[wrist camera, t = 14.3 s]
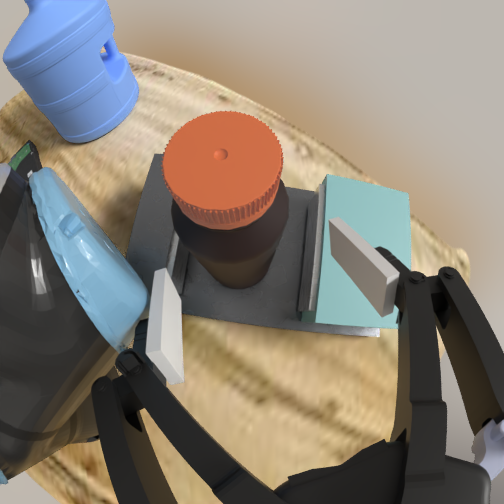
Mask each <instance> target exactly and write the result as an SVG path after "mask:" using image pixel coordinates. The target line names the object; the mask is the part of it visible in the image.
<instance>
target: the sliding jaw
mask: <svg viewBox="0 0 504 504" xmlns="http://www.w3.org/2000/svg"><path fill="white" fill-rule="evenodd" d="M336 217H340V218H341V219H342V220H343V221H344V222H345V223H347V224H348V225H349V226H350V227H351V228H352V229H353V230H354V231H356V232H357V233H358V234H359V235H360V236H361V237H362V238H363V239H364V240H366V241H367V242H368V243H369V244H370V245H371V246H372V247H373V248H376V247H379V246H381V247H383V248H385V249H388V250H389V251H390V252H391V253H392V254H393V255H394V256H395V257H396V258H397V259H399V260H400V261H401V262H402V263H403V264H404V265H405V266H406V267H407V268H408V269H409V270H410V271H411V227H410V208H409V196H408V193H405V192H401V191H398V190H394V189H390V188H386V187H382V186H378V185H374V184H370V183H366V182H362V181H357V180H353V179H348V178H344V177H339V176H334V175H329V174H327V175H326V177H325V179H324V180H323V182H322V184H319V186H318V188H317V190H316V191H315V193H314V195H313V197H312V199H311V200H310V202H309V206H308V219H307V230H306V241H305V252H304V261H303V271H302V280H301V289H300V297H299V305H298V311H300V312H302V318H301V321H303V322H313V323H323V324H333V325H345V326H357V327H371V328H390V329H398V324H396V320H397V315H398V310H399V309H398V308H397V307H396V306H395V305H394V310H393V313H391V314H389V315H387V316H384V317H381V316H380V315H379V314H378V312H377V311H376V310H375V308H374V307H373V306H372V305H371V303H370V302H369V301H368V299H367V298H366V297H365V296H364V294H363V293H362V292H361V291H360V289H359V288H358V287H357V286H356V284H355V283H354V282H353V281H352V280H351V278H350V277H349V276H348V275H347V273H346V272H345V271H344V270H343V269H342V267H341V266H340V265H339V264H338V263H337V261H336V260H335V259H334V258H333V257H332V255H331V248H330V234H329V221H328V220H329V219H333V218H336Z"/></svg>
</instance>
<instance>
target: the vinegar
mask: <svg viewBox="0 0 504 504" xmlns="http://www.w3.org/2000/svg"><path fill="white" fill-rule="evenodd" d="M166 145H167V147H166V148H165V152H163V154H164V156H163V157H162V158H163V161H161V162H162V164H163V165H161V167H162V170H161V171H162V172H163V174H162V176H163V177H164V178H163V180H164V181H165V184H166V186H167V188H168V190H169V192H170V193H171V195H172V197H173V200H172V206H171V216H172V221H173V227H174V230H175V232H176V233H177V235H178V237H179V238H180V240H181V242H182V244H183V245H184V246H185V247H186V248H187V250H188V251H189V252H190V253H191V254H192V255H193V256H194V257H195V258H196V259H197V260H198V262H199V263H200V264H201V265H202V266H203V267H204V268H205V269H206V270H207V271H208V272H209V273H210V274H211V275H212V277H213V278H214V279H216V280H217V281H218V282H219V283H220V284H222V285H223V286H226V287H229V288H231V289H245V288H249V287H252V286H254V285H255V284H257V283H258V282H260V281H261V280H262V279H263V277H264V276H265V275H266V274H267V272H268V269H269V267H270V264H271V262H272V260H273V257H274V255H275V252H276V250H277V247H278V245H279V243H280V240H281V238H282V235H283V232H284V230H285V227H286V224H287V221H288V219H289V197H288V194H287V191H286V189H285V186H284V183H283V181H282V180H281V179H280V177H281V172H282V167H283V157H282V156H283V153H282V148H281V144H279V140H277V136H275V133H272V129H271V130H270V129H269V126H266V123H262V121H259V120H258V118H257V119H256V118H254V116H253V117H252V116H250V115H246V114H245V113H244V114H242V113H241V112H239V113H238V112H236V111H235V112H231V111H230V112H226V111H225V112H222V111H220V112H217V111H216V112H214V113H212V112H211V113H210V114H207V113H206V114H205V115H201V116H199V117H197V118H196V119H193V120H192V121H189V122H188V123H186V124H185V125H184V126H183V127H181V129H179V130H178V131H177V132H176V133H174V136H173V137H172V139H171V140H169V144H166Z"/></svg>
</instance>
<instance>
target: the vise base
mask: <svg viewBox="0 0 504 504" xmlns="http://www.w3.org/2000/svg"><path fill="white" fill-rule="evenodd" d="M163 156H164V154H154V157H153V160H152V163H151V166H150V169H149V172H148V176H147V179H146V182H145V185H144V188H143V192H142V195H141V199H140V202H139V206H138V209H137V213H136V217H135V221H134V225H133V228H132V233H131V237H130V241H129V245H128V250H127V254H126V260H127V262H128V263H129V264H130V265H131V267H132V268H133V269H134V271H135V272H136V273H137V275H138V276H139V277H140V279H141V280H142V281H143V283H144V284H145V286H146V288H147V290H148V292H149V295H150V299H151V295H152V287H153V280H154V273H155V271H157V270H160V269H163V268H166V269H167V271H168V273H169V276H170V278H171V280H172V282H173V284H174V286H175V288H176V290H177V293H178V295H179V297H180V299H181V313H183V314H189V315H194V316H200V317H206V318H212V319H218V320H224V321H230V322H237V323H244V324H251V325H258V326H266V327H273V328H282V329H290V330H300V331H309V332H320V333H331V334H344V335H359V336H376V337H379V334H380V328H371V327H357V326H345V325H333V324H323V323H313V322H303V321H301V318H302V312H300V311H298V305H299V297H300V289H301V280H302V271H303V261H304V252H305V241H306V230H307V219H308V206H309V202H310V200H311V199H312V197H313V195H314V193H315V192H314V191H308V190H302V189H296V188H290V187H285V189H286V191H287V194H288V197H289V219H288V221H287V224H286V227H285V230H284V232H283V235H282V238H281V240H280V243H279V245H278V247H277V250H276V252H275V255H274V257H273V260H272V262H271V264H270V267H269V269H268V272H267V274H266V275H265V276H264V277H263V279H262V280H261V281H260V282H258V283H257V284H255V285H254V286H252V287H249V288H245V289H231V288H229V287H226V286H223V285H222V284H220V283H219V282H218V281H217V280H216V279H214V278H213V277H212V275H211V274H210V273H209V272H208V271H207V270H206V269H205V268H204V267H203V266H202V265H201V264H200V263H199V262H198V260H197V259H196V258H195V257H194V256H193V255H192V254H191V253H190V252H189V251H188V250H187V248H186V247H185V246H184V245H183V244H182V242H181V240H180V238H179V237H178V235H177V233H176V232H175V230H174V227H173V221H172V216H171V206H172V200H173V197H172V195H171V193H170V192H169V190H168V188H167V186H166V184H165V181H164V180H163V178H164V177H163V176H162V174H163V172H162V171H161V170H162V167H161V165H163V164H162V162H161V161H163V158H162V157H163Z"/></svg>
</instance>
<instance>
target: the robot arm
mask: <svg viewBox="0 0 504 504" xmlns="http://www.w3.org/2000/svg"><path fill="white" fill-rule="evenodd" d="M328 221H329V234H330V248H331V255H332V257H333V258H334V259H335V260H336V261H337V263H338V264H339V265H340V266H341V267H342V269H343V270H344V271H345V272H346V273H347V275H348V276H349V277H350V278H351V280H352V281H353V282H354V283H355V284H356V286H357V287H358V288H359V289H360V291H361V292H362V293H363V294H364V296H365V297H366V298H367V299H368V301H369V302H370V303H371V305H372V306H373V307H374V308H375V310H376V311H377V312H378V314H379V315H380V316H381V317H384V316H387V315H389V314H391V313H393V310H394V305H395V306H396V307H397V308H398V309H399V310H398V315H397V320H396V324H398V383H397V399H396V411H395V421H394V427H393V431H392V434H391V438H390V442H386V441H385V439H383V440H381V441H379V442H377V443H375V444H373V445H371V446H369V447H367V448H365V449H362V450H361V451H360V452H358V453H357V454H356V455H354V456H353V457H351V458H350V459H349V460H347V461H346V462H344V463H343V464H341V465H339V466H333V467H326V468H317V469H311V470H308V471H305V472H302V473H299V474H295V475H292V476H288V479H289V480H288V481H286V482H284V483H283V484H281V485H280V486H278V487H277V488H276V489H275V490H274V491H273V490H272V489H270V488H269V487H268V486H267V485H265V484H264V483H263V482H262V481H260V480H259V479H258V478H256V477H255V476H254V475H253V474H252V473H250V472H249V471H248V470H247V469H246V468H245V467H244V466H242V465H241V464H240V463H239V462H238V461H237V460H236V459H235V458H234V457H232V456H231V455H230V454H229V453H228V452H227V451H226V450H225V449H224V448H223V447H222V446H221V445H220V444H219V443H218V442H217V441H216V440H215V439H214V438H213V437H212V436H211V435H210V434H209V433H208V432H207V431H206V430H205V429H204V428H203V427H202V426H201V425H200V424H199V423H198V422H197V421H196V420H195V419H194V418H193V417H192V415H191V414H190V413H189V412H188V411H187V410H186V409H185V408H184V407H183V405H182V404H181V403H180V402H179V401H178V400H177V398H176V397H175V396H174V395H173V394H172V393H171V391H170V390H169V389H168V388H167V387H166V380H167V381H168V382H169V383H170V385H173V384H178V383H183V382H184V367H183V348H182V317H181V299H180V297H179V295H178V293H177V290H176V288H175V286H174V284H173V282H172V280H171V278H170V276H169V273H168V271H167V269H166V268H163V269H160V270H157V271H155V273H154V280H153V287H152V295H151V299H150V295H149V292H148V290H147V288H146V286H145V284H144V283H143V281H142V280H141V279H140V277H139V276H138V275H137V273H136V272H135V271H134V269H133V268H132V267H131V265H130V264H129V263H128V262H127V260H126V259H125V258H124V256H123V255H122V254H121V253H120V251H119V250H118V249H117V248H116V246H115V245H114V244H113V243H112V241H111V240H110V239H109V238H108V236H107V235H106V234H105V233H104V231H103V230H102V229H101V228H100V226H99V225H98V224H97V223H96V221H95V220H94V219H93V218H92V216H91V215H90V214H89V212H88V211H87V210H86V209H85V207H84V206H83V205H82V204H81V202H80V201H79V200H78V199H77V197H76V196H75V195H74V194H73V192H72V191H71V190H70V189H69V187H68V186H67V185H66V184H65V183H64V182H63V181H62V180H61V179H60V178H59V177H58V176H57V174H56V172H55V171H54V170H52V169H51V168H48V167H44V168H42V169H41V170H39V171H38V172H34V173H33V174H32V175H31V176H30V178H29V182H28V181H26V180H24V179H23V178H22V177H21V176H20V175H19V174H18V173H17V172H16V171H15V170H14V169H13V168H12V167H11V166H9V165H8V164H7V163H1V164H0V484H7V483H8V481H7V480H9V479H11V478H13V477H15V476H16V475H18V474H20V473H21V472H23V471H25V470H27V469H28V468H30V467H32V466H33V465H35V464H37V463H38V462H40V461H42V460H43V459H45V458H47V457H48V456H50V455H51V454H53V453H55V452H56V451H58V450H59V449H61V448H63V447H64V446H66V445H67V444H74V443H85V442H93V441H97V440H100V442H101V447H102V451H103V454H104V458H105V462H106V466H107V469H108V472H109V476H110V479H111V482H112V485H113V488H114V491H115V494H116V497H117V500H118V503H119V504H178V503H177V501H176V499H175V497H174V495H173V493H172V491H171V489H170V487H169V485H168V483H167V480H166V478H165V476H164V474H163V472H162V469H161V467H160V465H159V462H158V460H157V457H156V455H155V452H154V450H153V447H152V445H151V442H150V440H149V437H148V434H147V431H146V429H145V426H144V423H143V420H142V417H141V414H140V411H139V410H141V409H143V408H145V409H146V410H147V411H148V413H149V414H150V416H151V417H152V419H153V420H154V421H155V423H156V424H157V425H158V427H159V428H160V429H161V431H162V432H163V433H164V435H165V436H166V437H167V438H168V440H169V441H170V442H171V443H172V445H173V446H174V447H175V448H176V450H177V451H178V452H179V453H180V454H181V456H182V457H183V458H184V459H185V460H186V461H187V463H188V464H189V465H190V466H191V467H192V468H193V469H194V470H195V471H196V473H197V474H198V475H199V476H200V477H201V478H202V479H203V480H204V481H205V482H206V483H207V484H208V485H209V486H210V488H211V489H212V492H213V493H214V495H215V496H216V497H217V498H218V499H219V500H220V501H221V502H222V503H223V504H490V491H491V481H492V480H493V479H494V478H495V477H496V476H497V475H498V474H499V473H500V472H501V471H502V470H503V469H504V353H503V351H502V349H501V346H500V344H499V342H498V340H497V338H496V336H495V334H494V332H493V330H492V328H491V326H490V324H489V322H488V321H487V319H486V317H485V315H484V313H483V311H482V310H481V308H480V306H479V304H478V303H477V301H476V299H475V298H474V296H473V294H472V293H471V291H470V290H469V288H468V286H467V285H466V283H465V281H464V280H463V278H462V277H461V275H460V274H459V272H458V271H457V270H456V269H454V268H452V267H442V268H441V269H440V270H439V272H438V275H436V276H429V277H426V276H425V275H424V274H423V273H420V272H417V271H412V272H411V271H410V270H409V269H408V268H407V267H406V266H405V265H404V264H403V263H402V262H401V261H400V260H399V259H397V258H396V257H395V256H394V255H393V254H392V253H391V252H390V251H389V250H388V249H385V248H383V247H381V246H379V247H376V248H373V247H372V246H371V245H370V244H369V243H368V242H367V241H366V240H364V239H363V238H362V237H361V236H360V235H359V234H358V233H357V232H356V231H354V230H353V229H352V228H351V227H350V226H349V225H348V224H347V223H345V222H344V221H343V220H342V219H341V218H340V217H336V218H333V219H329V220H328ZM148 317H149V318H148ZM436 326H437V329H438V331H439V334H440V336H441V338H442V341H443V343H444V346H445V349H446V351H447V354H448V357H449V359H450V362H451V365H452V367H453V370H454V373H455V376H456V379H457V383H458V386H459V389H460V392H461V395H462V399H463V402H464V406H465V410H466V413H467V417H468V420H469V424H470V426H471V429H472V431H473V434H474V436H475V438H474V441H473V445H472V452H473V453H474V454H475V460H474V463H471V462H468V461H464V460H461V459H457V458H453V457H450V456H447V455H445V452H446V434H447V405H446V403H445V402H444V401H442V395H441V394H442V393H441V371H440V358H439V348H438V339H437V331H436ZM133 339H134V343H133V349H132V348H130V349H128V346H129V344H130V343H131V342H132V340H133ZM114 365H116V368H117V369H118V370H119V371H120V372H121V373H122V374H123V375H121V376H119V375H118V373H117V370H116V368H115V366H114Z"/></svg>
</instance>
